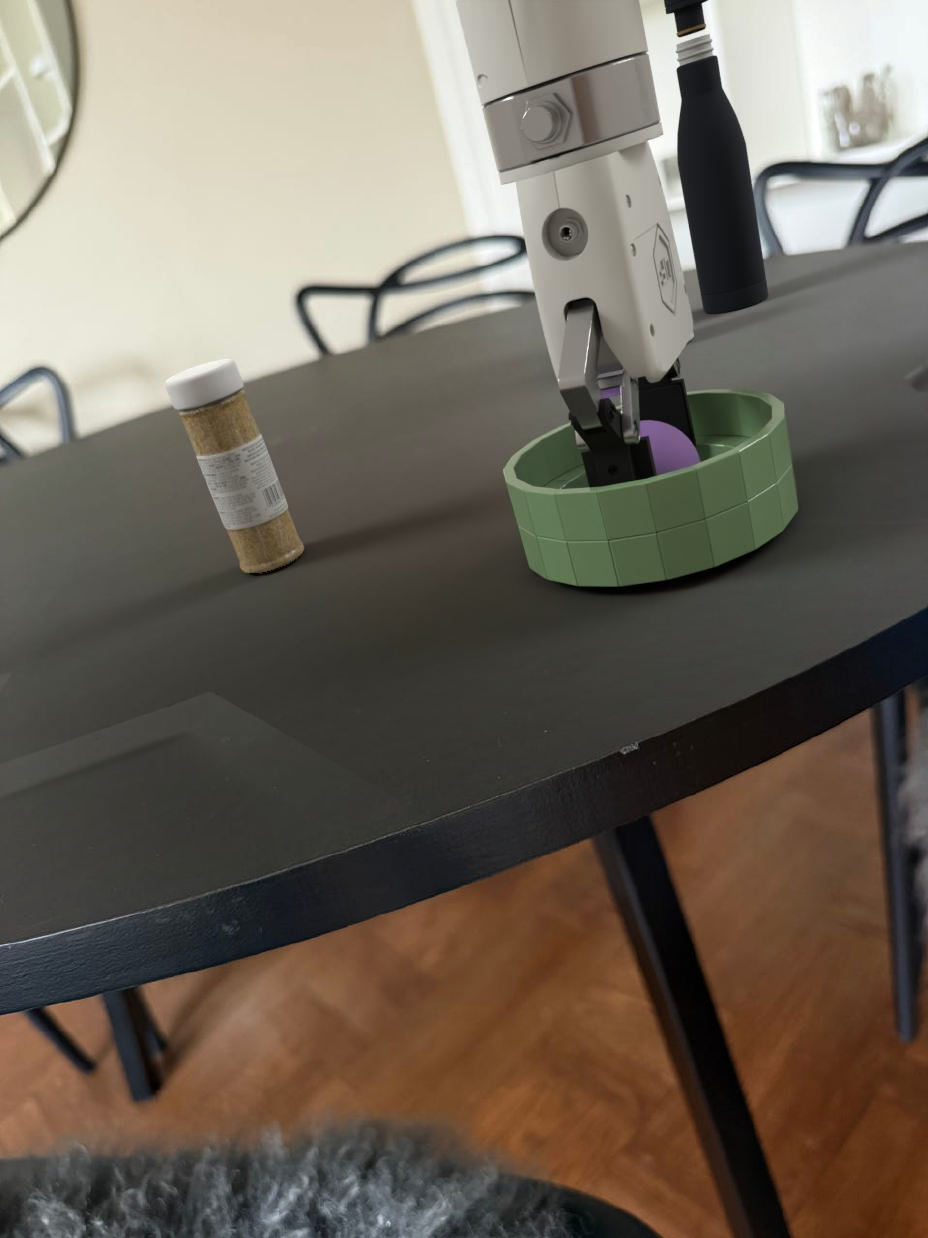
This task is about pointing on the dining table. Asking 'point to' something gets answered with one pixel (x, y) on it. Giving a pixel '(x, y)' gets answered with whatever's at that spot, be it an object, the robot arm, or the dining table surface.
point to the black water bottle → (715, 175)
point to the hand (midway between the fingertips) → (650, 484)
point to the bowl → (658, 499)
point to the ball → (669, 446)
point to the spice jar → (236, 464)
